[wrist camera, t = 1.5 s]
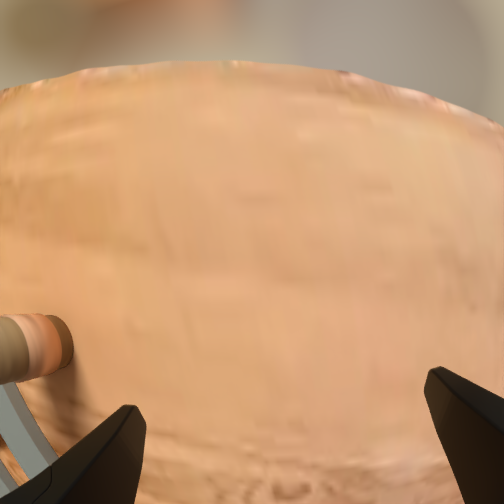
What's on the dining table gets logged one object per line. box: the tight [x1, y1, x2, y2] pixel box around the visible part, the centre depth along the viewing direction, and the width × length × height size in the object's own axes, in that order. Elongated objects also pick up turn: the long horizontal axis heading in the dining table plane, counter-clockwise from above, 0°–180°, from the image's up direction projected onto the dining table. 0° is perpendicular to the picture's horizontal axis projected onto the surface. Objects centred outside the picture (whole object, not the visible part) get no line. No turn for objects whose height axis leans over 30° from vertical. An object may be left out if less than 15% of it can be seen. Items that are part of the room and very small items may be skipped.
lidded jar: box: [0, 314, 73, 385], centre depth 18 cm, size 5×5×10 cm
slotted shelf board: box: [0, 382, 59, 498], centre depth 20 cm, size 20×20×2 cm
